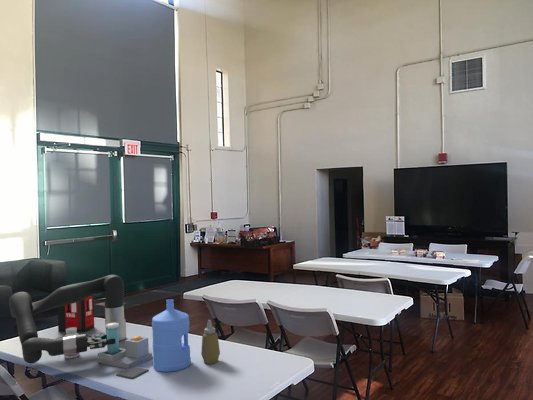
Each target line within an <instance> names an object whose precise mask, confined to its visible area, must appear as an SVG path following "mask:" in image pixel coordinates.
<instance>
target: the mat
mask: <svg viewBox="0 0 533 400" xmlns="http://www.w3.org/2000/svg"><path fill="white" fill-rule="evenodd" d="M147 372H149V369H147V368H144V367H143V368H142V367H139V366H132V367H130V368H125V369H124V370H122V371H120V372H117V373H115V376H117V377H122V378H126V379H129V380H134V379H135V378H137V377H139V376H141V375H143V374H146V373H147Z"/></svg>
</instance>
